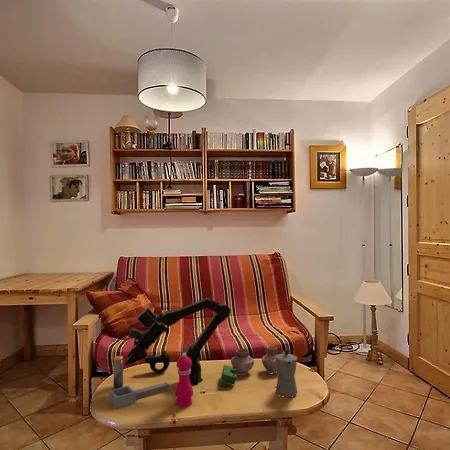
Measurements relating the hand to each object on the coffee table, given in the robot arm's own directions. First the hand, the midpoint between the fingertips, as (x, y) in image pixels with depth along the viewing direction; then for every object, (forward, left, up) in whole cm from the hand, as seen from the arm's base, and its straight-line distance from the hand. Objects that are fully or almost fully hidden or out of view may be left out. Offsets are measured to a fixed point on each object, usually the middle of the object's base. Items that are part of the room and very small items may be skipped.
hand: (126, 360), depth 156 cm
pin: (+3, +2, -11) cm, 12 cm away
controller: (-3, -19, -12) cm, 22 cm away
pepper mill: (-31, +3, -12) cm, 33 cm away
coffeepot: (-65, -24, -12) cm, 70 cm away
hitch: (-12, +5, -11) cm, 17 cm away
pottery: (-47, -39, -12) cm, 62 cm away
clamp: (-39, -23, -12) cm, 47 cm away
